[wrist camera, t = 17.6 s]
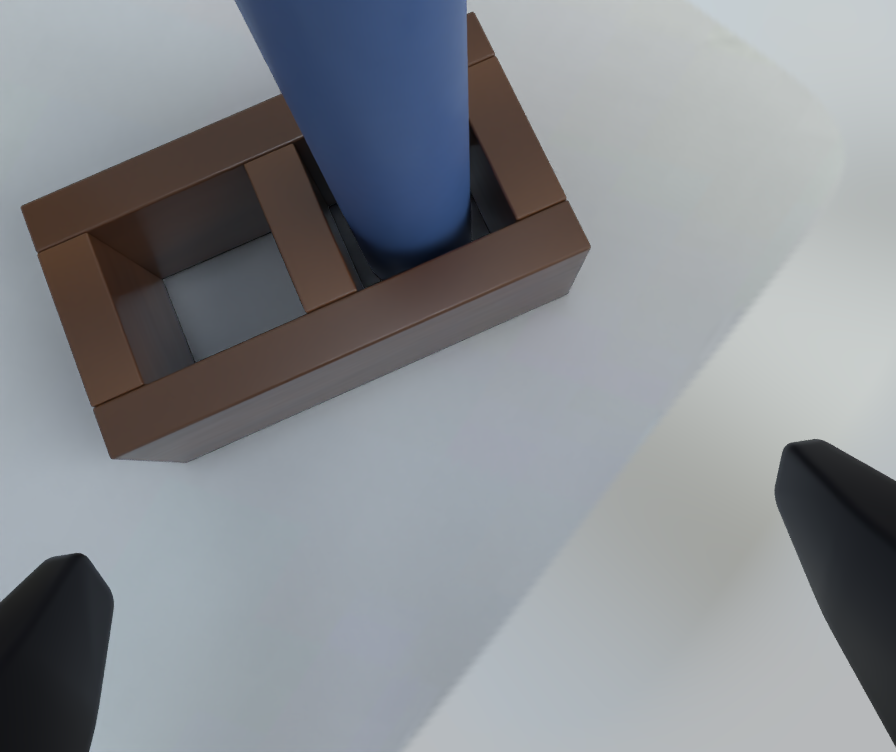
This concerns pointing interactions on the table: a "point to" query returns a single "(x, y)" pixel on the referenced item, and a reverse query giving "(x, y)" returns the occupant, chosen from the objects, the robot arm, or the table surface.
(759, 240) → the table surface
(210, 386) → the rack
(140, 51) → the table surface
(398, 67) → the peg
